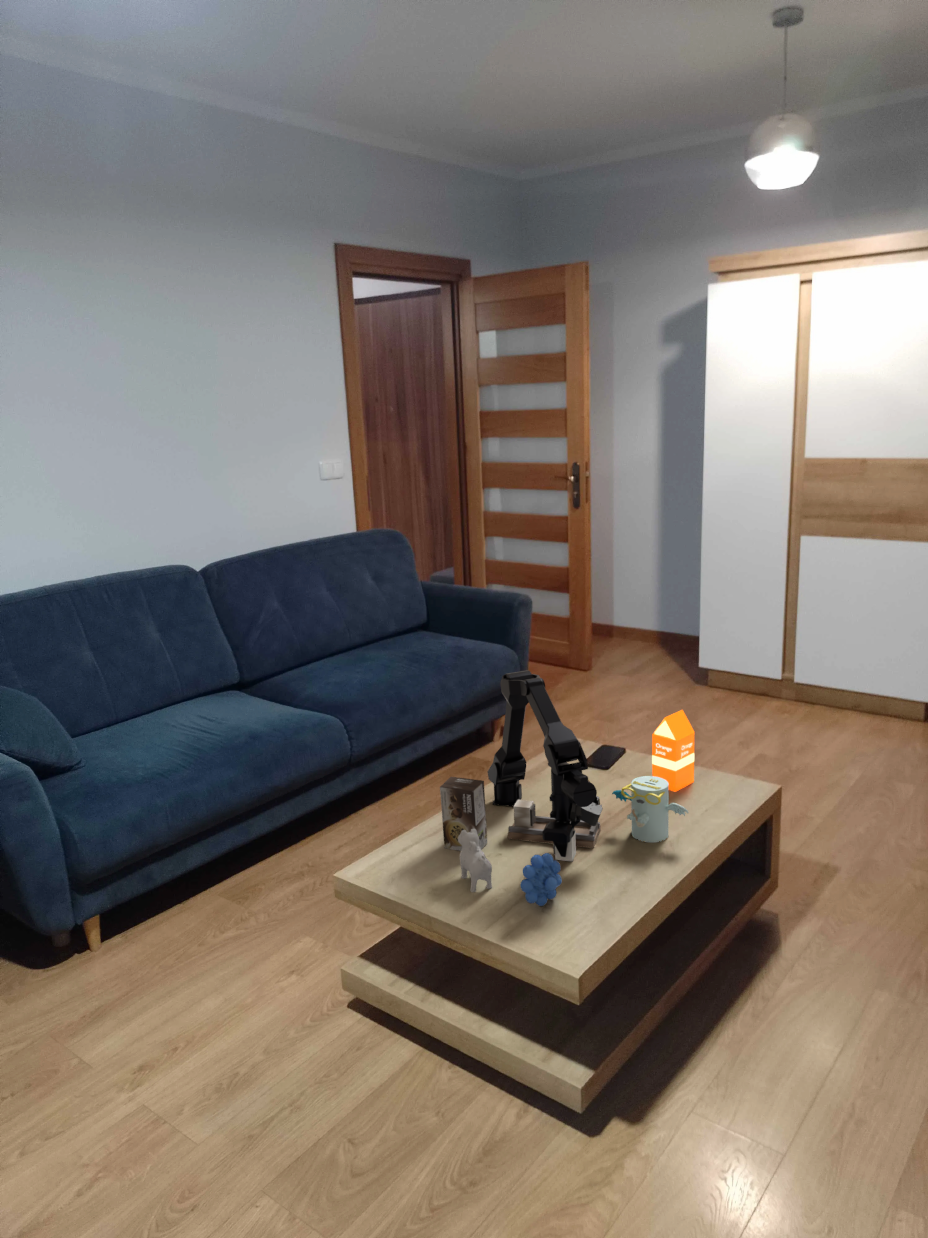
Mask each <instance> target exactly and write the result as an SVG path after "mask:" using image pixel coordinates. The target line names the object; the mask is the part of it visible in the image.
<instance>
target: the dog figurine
mask: <svg viewBox="0 0 928 1238" xmlns="http://www.w3.org/2000/svg"><path fill="white" fill-rule="evenodd" d="M458 842H459V843H460V844H461V845H462V850H461V851H459V852H460V853H459V863H460V864H459V865H460V871H461V876H460V877H461V879H467V878H468V872H469V877H470V882H471V883H470V893H476V892H477V885H478V881H479V880H482V881H485V882H486V886H485V887H484V888H485V889H488V890H489V889H492V888H493V884H492V872H493V866H492V863H491V862H490V860H489V859H488V858H486V854H485V852H484V851H483V849H481V847H480V846H479V837H478V835H477V831H476V829H471V832H468V833H467V832H466V830H462V831H461V834H460V835H459V836H458Z"/></svg>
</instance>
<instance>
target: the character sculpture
mask: <svg viewBox="0 0 928 1238" xmlns="http://www.w3.org/2000/svg"><path fill="white" fill-rule="evenodd" d="M625 790H627V791H628V790H629V791H630V792H631V793H630V794H631V795H630V794H629V793H628V792H626V791H625ZM669 791H670V790H669V784H668V782H667V780H665V779H663V778H660V777H655V776H652V775H644V776H643V775H642V776H637V777H636V778H633V779H632V780H631V782H630V783H629V784H627V785H625V786H624V787H623V786H622V787H621V789H616V790H613V792H612V793H611V795H615V799H616V800H617V799H619V800H620V802H623V801H624V802H625V803H626V802H627V800H629V801H630V802H631V812H630V813H629V814H627V816H626V819H627V820H630V821H631V835H632V837H633V838H634V839H636V840H637V839H638V841H640V840H641V841H640V842H643V841H645V843H660V842H662V840H663V841H665V840H667V839H668V838H669V811H673V812H674V814H675V815H677V814H679V816H681V815H683V816H684V817H685V816H686V814H689V810H688V809H687V808H686V807H684V806H683V805H682V804H681V805H680V804H679V803H676V802H670V804H669V799H670V797H669ZM666 838H667V839H666ZM659 841H660V842H659Z"/></svg>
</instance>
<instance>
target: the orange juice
mask: <svg viewBox="0 0 928 1238" xmlns="http://www.w3.org/2000/svg"><path fill="white" fill-rule="evenodd" d="M651 736H652V737H651V740H652V741H651V747H652V748H651V749H652V750H651V751H652V752H651V770H652V771H651V774H652V775H651V776H655V777H660V778H663V779H665V780H667V782H668V784H669V791H671V792H674V793H676V792H678V791H679V790H681V789H684V788H686V787H687V786H689V785H691V784H693V783H694V782H695V730H694V728H693V727H692V724H691V722H690V720H689V719H688V717H687V715H686V713H685V712H684V709H680V710H679V711H676V712H674V713H672V714H669V715H667V716H665V717H664V718H663V719H662V721H661V722H660V724H659V725H658V726H657V727H656V729H655V730H654V732H653V733H652V734H651Z"/></svg>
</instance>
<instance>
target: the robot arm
mask: <svg viewBox="0 0 928 1238" xmlns="http://www.w3.org/2000/svg"><path fill="white" fill-rule="evenodd" d="M500 689H501V690H500V691H501V693H502V695H503V697H504V699H505V700H506V704H505V705H506V706H505V712H504V713H505V714H504V723H503V730H502V731H503V732H502V741H501V747H499V749H498V750H497V751H496V752H495V753H494V756H493V760H492V761H493V762H492V763H491V765H490V766H489V768H488V770H487V777H488V780H489V782H491V783H492V784H493V793H494V794H493V801H492V805H493V806H501V807H503V806H505V807H512V808H514V805H515V803H516V802H517V800H523V799H522V798H523V793H522V789H523V788H522V784H521V783H520V781H521V780H525V777H526V773H527V760H526V759H525V756H524V754H523V753H522V752H521V749H522V740H523V734H524V733H523V732H524V724H525V723H524V722H525V716H526V708H527V705H528V704H529V706H530V708H531V709H532V712H533V714H534V716H535V719H536V721H537V723H538V725H539V726H540V729H541V732H542V734H543V736H544V737H543V739H544V740H543V745H542V747H543V750H544V754H545V755H544V756H545V758H546V760H547V766H548V767H550V780H551V782H550V786H551V793H550V795H549V802H551V810H550V813H549V817H550V818H555V822H549V823H548V824H546V826H545V828H544V830H543V831H542V833H543V840H545V841H553V843H554V845H555V846H556V848H557V850H558V852H559V854H560V855H561V857H566V854H567V848H568V842H570V841H571V839H572V837H573V835H574V833H575V831H573V829H574V827H575V825H577V824H578V823H579V822H580V820H582V821H584V822H586V823H588V824H589V825H591V826H596V824H597V822H599V819H600V817H601V814H602V811H603V809H604V808H603V804H601V800H600V797H599V796H597V793H598V792H597V790H598V789H597V788H596V786H595V784H594V783H592V782H591V781H589V776H588V775H586V774H584V773H583V771H586V770H589V767H588V763H587V762H588V758H587V755H586V754H585V751H584V749H583V747H582V743H581V741H580V740H579V739H578V738H577V736H576V735H575V732H573V730H571V728H569V727H567V726H566V725H564V724H563V722H562V720H561V719H560V716H559V715H558V712H557V710H556V707H555V705H554V703H553V702H552V699H551V698H550V695H549V693H548V692H547V688H546V683H545V680H544V679H543V678H542V677H540V675H539V674H535V673H532V672H531V671H530V670H528V669H527V670H520V671H515V672H514V671H513V672H509V673H507V672H506V673H505V674H503V675H502V676H501V679H500ZM575 761H576V762H575ZM570 762H572V763H570Z"/></svg>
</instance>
